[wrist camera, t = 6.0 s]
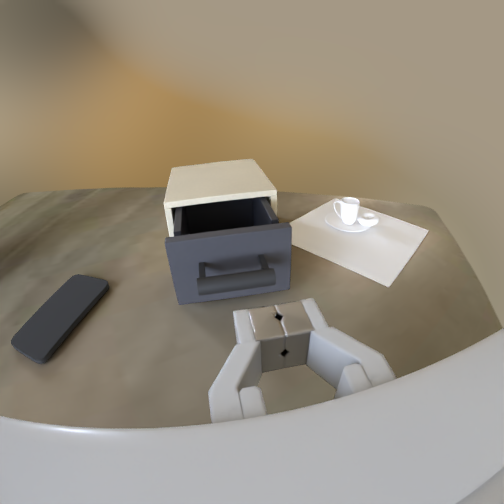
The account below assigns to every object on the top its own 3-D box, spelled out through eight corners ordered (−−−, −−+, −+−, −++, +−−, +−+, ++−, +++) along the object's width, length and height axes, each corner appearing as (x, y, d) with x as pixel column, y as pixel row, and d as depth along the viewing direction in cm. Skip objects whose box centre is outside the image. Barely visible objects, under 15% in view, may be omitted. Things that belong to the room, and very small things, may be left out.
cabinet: (277, 256, 41) (277, 189, 36) (176, 269, 39) (163, 202, 34) (255, 210, 54) (253, 158, 49) (179, 219, 52) (171, 167, 47)
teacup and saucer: (382, 224, 48) (385, 202, 46) (362, 241, 43) (366, 217, 41) (339, 209, 53) (341, 188, 51) (315, 223, 49) (317, 200, 46)
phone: (111, 280, 36) (40, 362, 24) (113, 286, 36) (43, 367, 24) (74, 273, 38) (7, 342, 25) (76, 277, 38) (11, 346, 26)
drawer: (301, 315, 30) (306, 249, 26) (178, 333, 28) (161, 269, 24) (262, 229, 46) (261, 180, 41) (180, 240, 44) (172, 191, 40)
